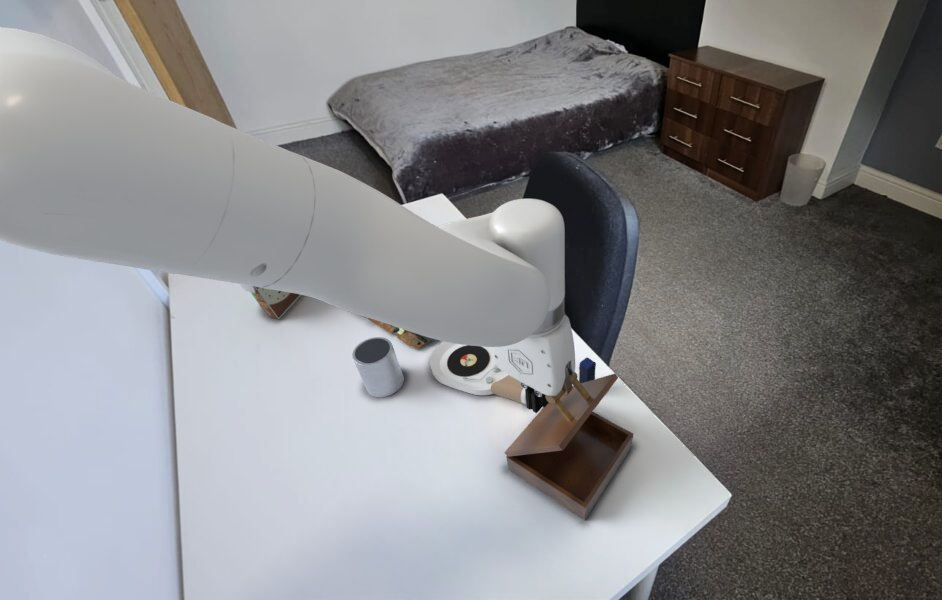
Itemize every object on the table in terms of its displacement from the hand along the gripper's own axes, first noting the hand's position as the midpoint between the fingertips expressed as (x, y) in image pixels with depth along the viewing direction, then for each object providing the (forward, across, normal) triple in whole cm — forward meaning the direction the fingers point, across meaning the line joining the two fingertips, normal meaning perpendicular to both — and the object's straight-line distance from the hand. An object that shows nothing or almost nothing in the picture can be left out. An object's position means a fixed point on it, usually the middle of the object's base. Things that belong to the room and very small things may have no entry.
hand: (538, 403), depth 66 cm
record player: (+9, -16, +6) cm, 20 cm away
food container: (+10, -62, -4) cm, 63 cm away
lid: (0, +4, 0) cm, 4 cm away
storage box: (+9, +6, 0) cm, 11 cm away
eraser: (+9, +1, +12) cm, 15 cm away
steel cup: (+9, -28, -6) cm, 30 cm away
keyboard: (+9, -50, +10) cm, 52 cm away
